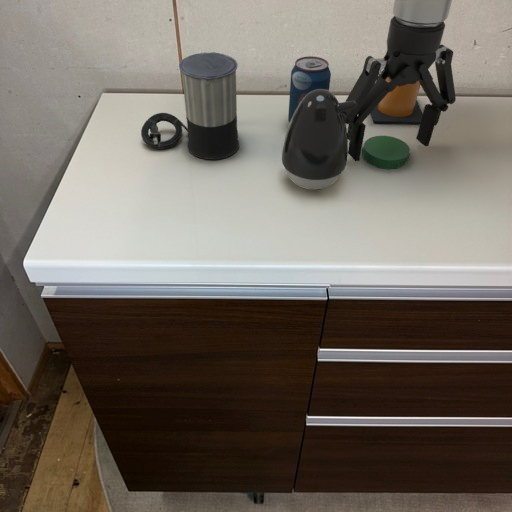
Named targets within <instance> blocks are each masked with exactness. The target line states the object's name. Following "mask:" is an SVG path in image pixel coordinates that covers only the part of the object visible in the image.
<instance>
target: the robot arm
mask: <svg viewBox="0 0 512 512" xmlns="http://www.w3.org/2000/svg"><path fill="white" fill-rule="evenodd" d="M452 2H453V0H394V1H393V8H392V14H393V15H394V16H393V17H392V18H391V19H390V22H389V27H388V32H387V38H386V52H385V55H384V56H383V57H382V58H375V57H373V56H372V55H368V56H367V57H366V58H365V60H364V64H363V68H362V70H361V73H360V75H359V76H358V78H357V80H356V82H355V83H354V84H353V85H354V86H353V87H352V88H351V91H350V92H349V94H348V96H347V98H346V100H345V101H344V102H348V101H354V100H356V101H357V103H358V107H357V108H355V109H352V110H348V111H345V112H343V115H344V119H345V124H346V125H347V139H348V142H349V143H348V156H350V157H351V159H352V160H353V161H354V162H359V161H360V160H361V154H362V150H363V145H364V138H365V131H366V127H367V125H366V124H365V123H364V121H365V120H367V118H368V117H369V115H371V114H370V113H371V112H372V111H373V110H374V109H375V107H376V106H377V105H378V104H379V103H380V102H381V100H382V99H383V98H384V97H385V96H386V95H387V94H388V92H392V91H393V90H394V89H395V88H396V87H397V86H404V85H406V84H416V83H417V81H419V83H420V87H421V88H422V90H423V92H424V93H425V95H426V97H427V99H428V101H429V102H430V103H427V104H425V105H424V109H423V111H422V113H423V115H422V119H421V123H420V124H419V125H418V126H419V127H418V130H417V134H416V138H415V139H416V140H417V141H418V142H419V143H420V144H421V145H422V146H424V147H429V146H430V144H431V143H430V142H431V139H432V137H433V133H434V129H435V127H436V126H437V125H438V123H439V120H440V117H441V114H442V113H445V112H447V111H448V110H449V105H453V104H455V102H456V100H457V98H456V90H455V83H454V82H455V81H454V75H453V68H452V62H453V57H454V50H453V49H451V48H450V47H448V46H445V45H444V44H441V43H442V40H443V35H444V32H445V29H446V24H445V22H446V21H447V19H448V17H449V14H450V11H451V10H450V9H451V6H452ZM433 64H434V65H435V72H436V78H437V83H438V88H437V85H436V84H435V82H434V78H433V75H432V74H431V72H430V71H429V69H430V68H431V66H432V65H433ZM387 77H388V78H389V80H390V82H387V81H385V80H386V78H387Z"/></svg>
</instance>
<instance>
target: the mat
mask: <svg viewBox="0 0 512 512" xmlns="http://www.w3.org/2000/svg"><path fill="white" fill-rule="evenodd" d="M377 106H378V105H377ZM377 106H376V107H375V109H374V110H373V111H372V112H371V113H370V114H369V115H370V116H371V120H372V123H373V125H420V123H421V119H422V115H423V111H422V108H421V106H420V104H419V102H418V99H417V100H416V104H415V107H414V111H413V113H412V114H411V115H409V116H406V117H392V116H388V115H385V114H383V113H382V112H380V111H379V110H378V107H377Z"/></svg>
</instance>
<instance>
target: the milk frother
mask: <svg viewBox="0 0 512 512" xmlns="http://www.w3.org/2000/svg"><path fill="white" fill-rule="evenodd" d="M238 65H239V64H238V62H237V60H236V59H235V58H234V57H232V56H230V55H229V54H228V55H227V54H224V53H219V52H215V51H213V52H200V53H199V52H198V53H193V54H191V55H188V56H186V57H184V58H183V59H181V60H180V62H179V63H178V68H179V70H180V72H181V78H182V86H183V87H182V89H183V96H184V105H185V114H186V115H185V116H186V125H187V126H186V125H185V124H184V123H183V122H182V121H181V120H180V119H179V118H178V117H176V116H175V115H173V114H171V113H168V112H159V113H155V114H153V115H151V116H150V117H148V118H147V119H146V120H145V122H144V123H143V125H142V127H141V130H140V135H141V139H142V141H143V142H144V144H146V145H147V146H148V147H151V148H153V149H167V148H168V149H169V148H171V147H173V146H175V145H177V144H178V143H179V142H180V140H181V138H182V135H183V129H184V130H185V131H186V132H187V139H188V140H187V150H188V151H189V153H191V155H193V156H195V157H197V158H199V159H203V160H222V159H225V158H228V157H230V156H233V155H234V154H235V153H236V152H237V151H238V149H239V147H240V141H239V132H238V131H239V130H238V113H237V111H238V108H237V107H238V106H237V105H238V103H237V99H238V98H237V69H238ZM160 122H167V123H170V124H171V125H172V126H173V127H174V129H175V133H174V134H173V136H171V138H169V139H167V140H163V141H162V134H161V133H160V132H159V126H158V123H160ZM149 132H150V133H149Z"/></svg>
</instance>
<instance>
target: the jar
mask: <svg viewBox="0 0 512 512" xmlns="http://www.w3.org/2000/svg"><path fill="white" fill-rule="evenodd" d="M385 81H387V82H390V80H389V78H388V77H387V78H386V80H385ZM420 88H421V85H420V83H419V81H417V83H416V84H406V85H404V86H397V87H396V88H395V89H394V90H393V91H392V92H388V94H387V95H386V96H385V97H384V98H383V99H382V100H381V102H380V103H379V104H378V106H377V107H378V110H379V111H380V112H382V113H383V114H385V115H388V116H392V117H406V116H409V115H411V114H412V113H413V111H414V107H415V104H416V100H417V101H418V95H419V92H420Z"/></svg>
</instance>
